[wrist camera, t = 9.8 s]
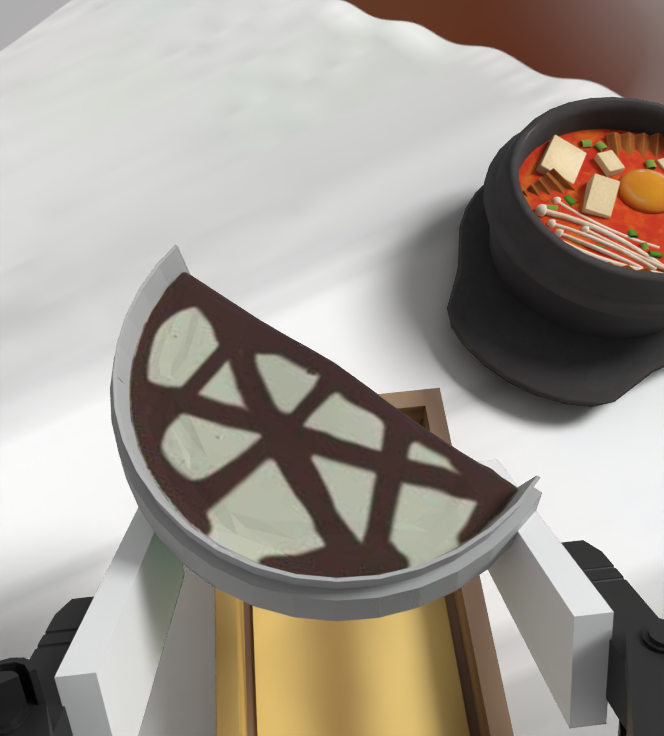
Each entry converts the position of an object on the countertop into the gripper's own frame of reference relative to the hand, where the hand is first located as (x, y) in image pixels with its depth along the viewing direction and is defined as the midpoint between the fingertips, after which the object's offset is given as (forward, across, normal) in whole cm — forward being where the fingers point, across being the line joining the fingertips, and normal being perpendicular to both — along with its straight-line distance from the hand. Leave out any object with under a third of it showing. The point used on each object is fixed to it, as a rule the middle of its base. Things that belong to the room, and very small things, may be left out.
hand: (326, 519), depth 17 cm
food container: (+4, -2, -3) cm, 6 cm away
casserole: (+26, +20, +2) cm, 33 cm away
